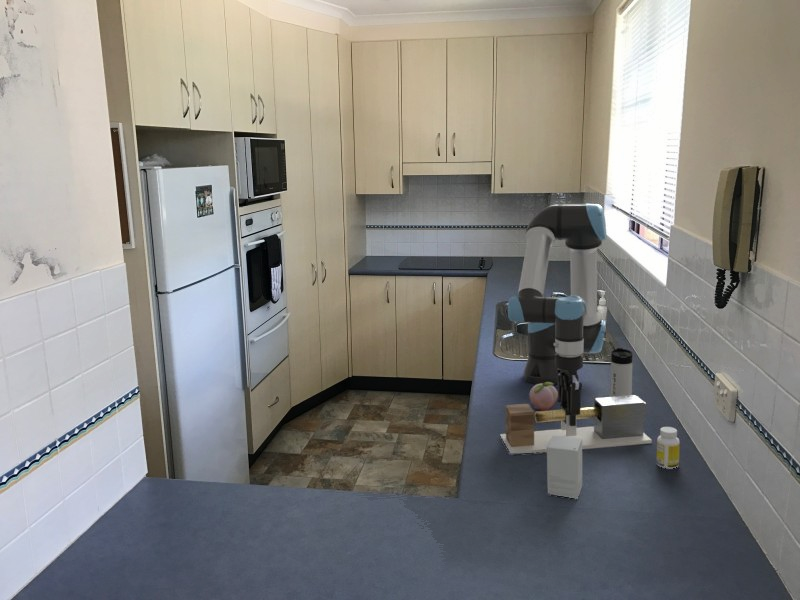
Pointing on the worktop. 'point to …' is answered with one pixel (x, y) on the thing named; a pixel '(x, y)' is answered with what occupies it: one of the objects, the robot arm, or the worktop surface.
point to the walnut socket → (519, 425)
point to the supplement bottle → (668, 448)
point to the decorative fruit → (543, 395)
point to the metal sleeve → (620, 417)
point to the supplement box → (564, 466)
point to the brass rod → (560, 415)
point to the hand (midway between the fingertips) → (568, 432)
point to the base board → (585, 433)
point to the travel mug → (621, 372)
